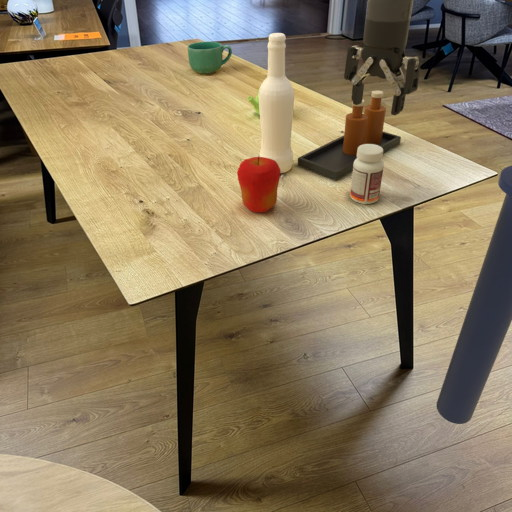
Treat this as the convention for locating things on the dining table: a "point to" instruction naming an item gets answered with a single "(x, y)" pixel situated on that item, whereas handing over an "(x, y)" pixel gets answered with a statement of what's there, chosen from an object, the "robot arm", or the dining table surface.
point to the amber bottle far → (375, 119)
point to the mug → (207, 56)
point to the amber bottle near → (355, 129)
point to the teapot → (255, 102)
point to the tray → (339, 157)
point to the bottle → (276, 107)
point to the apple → (259, 183)
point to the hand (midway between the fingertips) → (375, 108)
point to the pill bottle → (367, 174)
